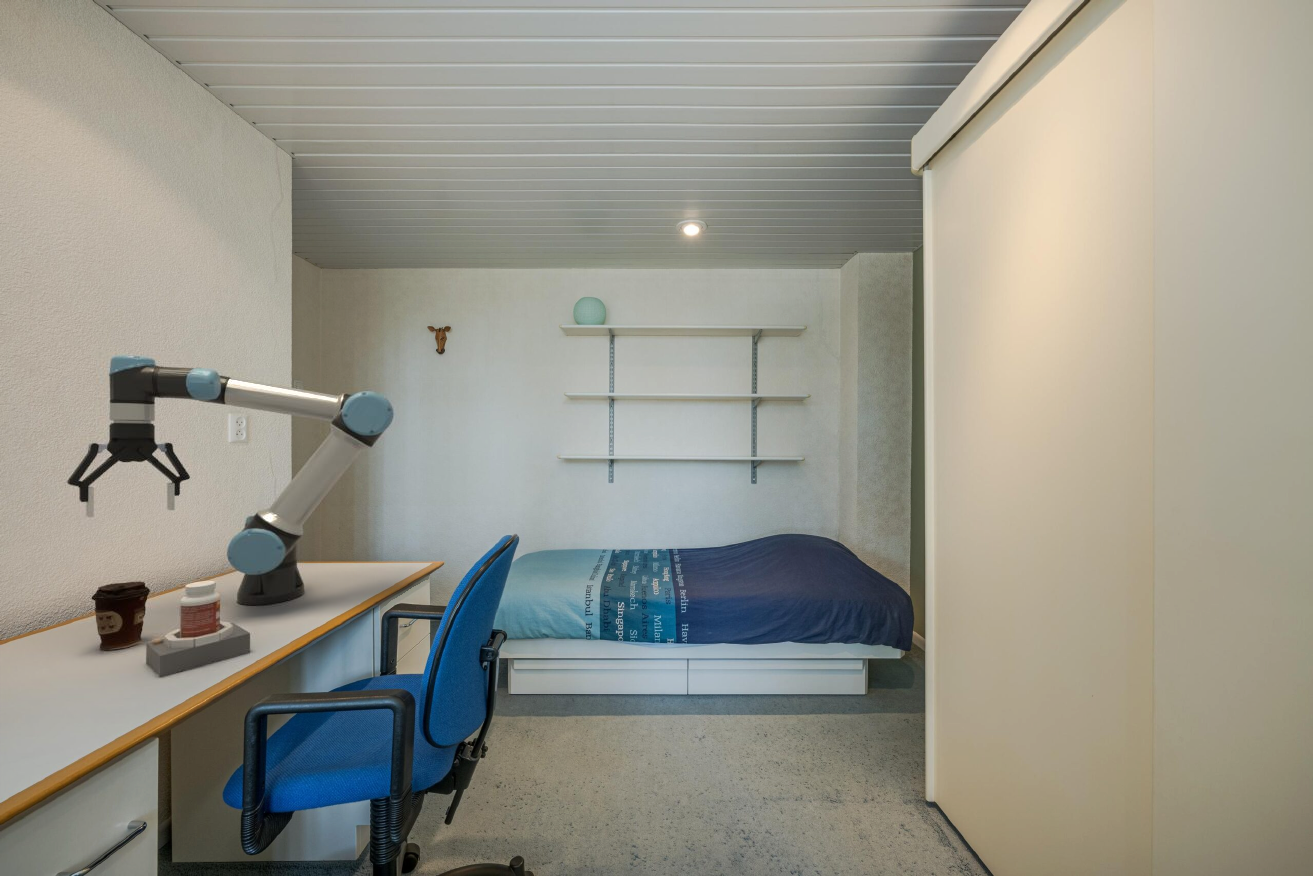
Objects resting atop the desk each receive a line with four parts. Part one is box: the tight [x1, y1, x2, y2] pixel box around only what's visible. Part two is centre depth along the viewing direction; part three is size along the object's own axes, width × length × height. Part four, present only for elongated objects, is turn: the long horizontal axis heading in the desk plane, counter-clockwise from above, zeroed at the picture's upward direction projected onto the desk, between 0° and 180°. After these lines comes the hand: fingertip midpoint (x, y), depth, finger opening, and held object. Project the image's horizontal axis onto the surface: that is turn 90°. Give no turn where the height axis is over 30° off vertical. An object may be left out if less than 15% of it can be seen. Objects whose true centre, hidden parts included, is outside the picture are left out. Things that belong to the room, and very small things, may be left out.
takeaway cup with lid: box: [91, 581, 151, 651], centre depth 113 cm, size 9×8×13 cm
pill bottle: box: [179, 580, 221, 638], centre depth 107 cm, size 6×6×11 cm
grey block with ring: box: [145, 621, 251, 678], centre depth 107 cm, size 14×10×6 cm
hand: (132, 513), depth 123 cm, fingers open, 13 cm apart
